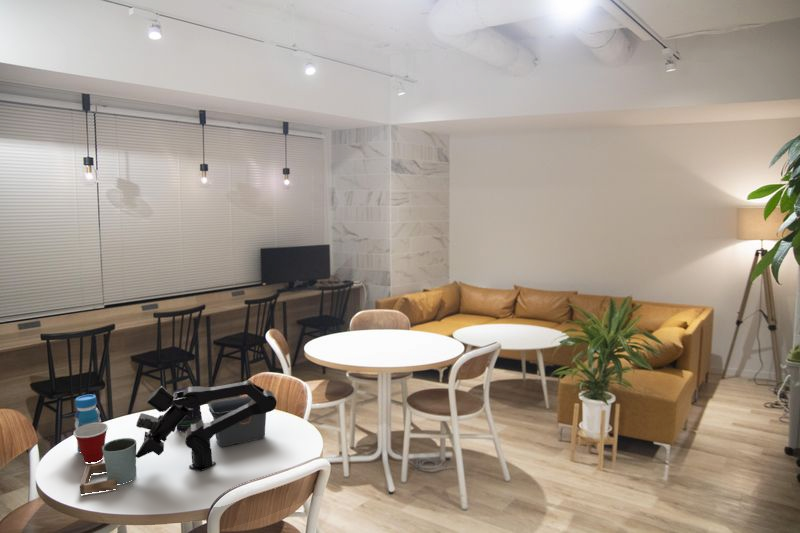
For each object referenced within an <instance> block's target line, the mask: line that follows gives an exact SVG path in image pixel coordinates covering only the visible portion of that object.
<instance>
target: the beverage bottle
mask: <svg viewBox="0 0 800 533" xmlns="http://www.w3.org/2000/svg"><path fill="white" fill-rule="evenodd" d="M74 401H75V408H76V411H75V414H74V420H75V422H74V427H75V430H76V429H77V428H79V427H81V426H83V425H86V424H90V423H102V419H101V417H100V415H101V411H100V409H98V407H97V396H96V394H83V395H81V396H77V397H76V398H75V400H74ZM76 441H77V440H76ZM76 443H77V452H78V453H79V452H81V450H80V447H79V444H78V441H77V442H76Z"/></svg>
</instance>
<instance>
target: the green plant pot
mask: <svg viewBox="0 0 800 533" xmlns="http://www.w3.org/2000/svg"><path fill="white" fill-rule="evenodd" d="M102 451H103V460H104V463H105V465H106V466H105V467H106V471H107V473H106V474H105V475H106V480H111V479H116V484H123V483H126V482H129V481H131V480H133V479H134V478H135V477H136V478H137V457H136V454H137V440H136V439H134V438H131V437H122V438H116V439H113V440H110V441H108V442H105V445H104V446H103V447H102ZM136 478H135V479H136ZM135 479H134V480H135ZM134 480H133V481H134ZM131 482H132V481H131ZM129 483H130V482H129ZM126 484H127V483H126ZM123 485H124V484H123Z"/></svg>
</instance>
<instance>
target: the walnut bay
mask: <svg viewBox="0 0 800 533" xmlns="http://www.w3.org/2000/svg"><path fill="white" fill-rule="evenodd" d="M105 466H106V465H105V462H99V463H96V464H90V465H89V464H86V467H85V470H84V473H83V476H82V477H81V481H80V483H79V492H80V494H85V493H92V492H99V491H106V490H113V489H118V485H117V484H116V479H111V480H107V479H105V480H100V481H94V482H89V479H90V476H91V474H93V473H102V472H107V471H106V467H105ZM91 477H92V476H91ZM90 480H91V479H90ZM88 482H89V483H88Z"/></svg>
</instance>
